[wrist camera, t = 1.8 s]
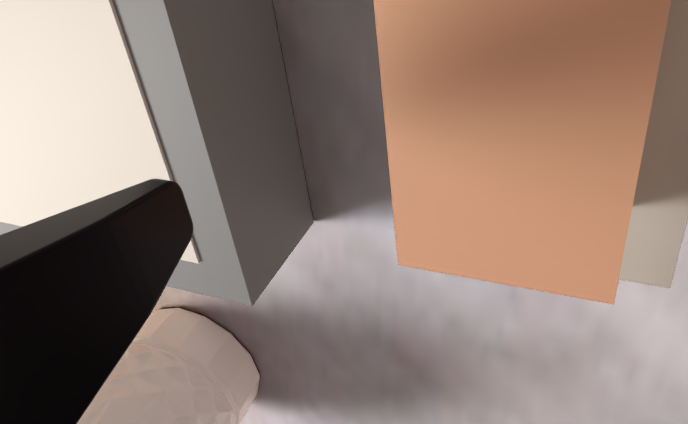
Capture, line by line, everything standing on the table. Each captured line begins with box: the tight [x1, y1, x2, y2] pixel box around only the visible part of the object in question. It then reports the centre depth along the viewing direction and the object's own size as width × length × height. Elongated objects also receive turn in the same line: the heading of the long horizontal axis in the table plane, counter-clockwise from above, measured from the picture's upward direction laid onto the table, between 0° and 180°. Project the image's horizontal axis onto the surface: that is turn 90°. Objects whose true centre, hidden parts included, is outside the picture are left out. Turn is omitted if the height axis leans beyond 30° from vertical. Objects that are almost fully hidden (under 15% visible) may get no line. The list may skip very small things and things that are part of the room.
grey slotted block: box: [619, 0, 688, 288], centre depth 13 cm, size 6×10×4 cm, turn 8°
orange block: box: [373, 0, 671, 304], centre depth 11 cm, size 4×6×3 cm, turn 8°
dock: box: [0, 0, 313, 306], centre depth 18 cm, size 12×16×5 cm
